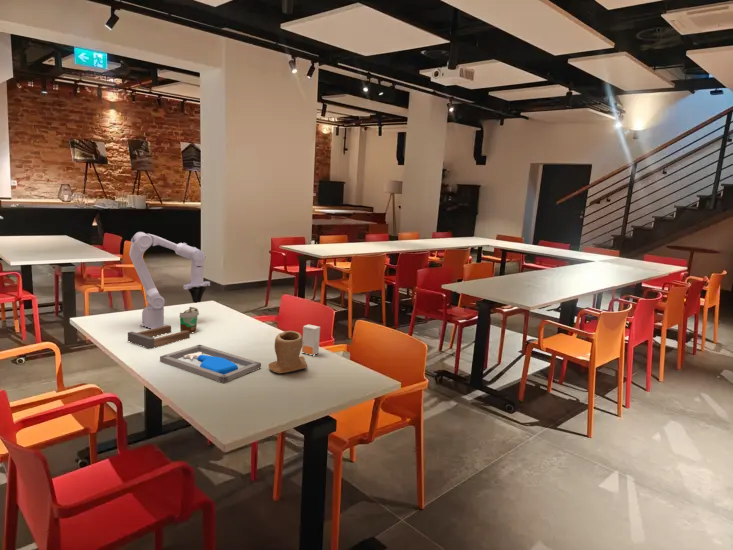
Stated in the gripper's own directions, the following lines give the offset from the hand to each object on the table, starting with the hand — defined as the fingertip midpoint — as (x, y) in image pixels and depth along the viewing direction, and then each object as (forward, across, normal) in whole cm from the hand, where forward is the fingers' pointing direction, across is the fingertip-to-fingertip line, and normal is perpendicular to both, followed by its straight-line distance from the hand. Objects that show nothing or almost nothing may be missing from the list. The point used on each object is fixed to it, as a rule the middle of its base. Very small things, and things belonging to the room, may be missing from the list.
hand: (196, 302), depth 235 cm
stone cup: (+11, -20, -73) cm, 76 cm away
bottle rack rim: (+10, -35, -47) cm, 60 cm away
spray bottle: (+11, -35, -47) cm, 60 cm away
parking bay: (+10, -27, -9) cm, 30 cm away
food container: (+11, -11, -9) cm, 18 cm away
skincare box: (+11, 0, -68) cm, 69 cm away
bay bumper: (+10, -37, -9) cm, 39 cm away
